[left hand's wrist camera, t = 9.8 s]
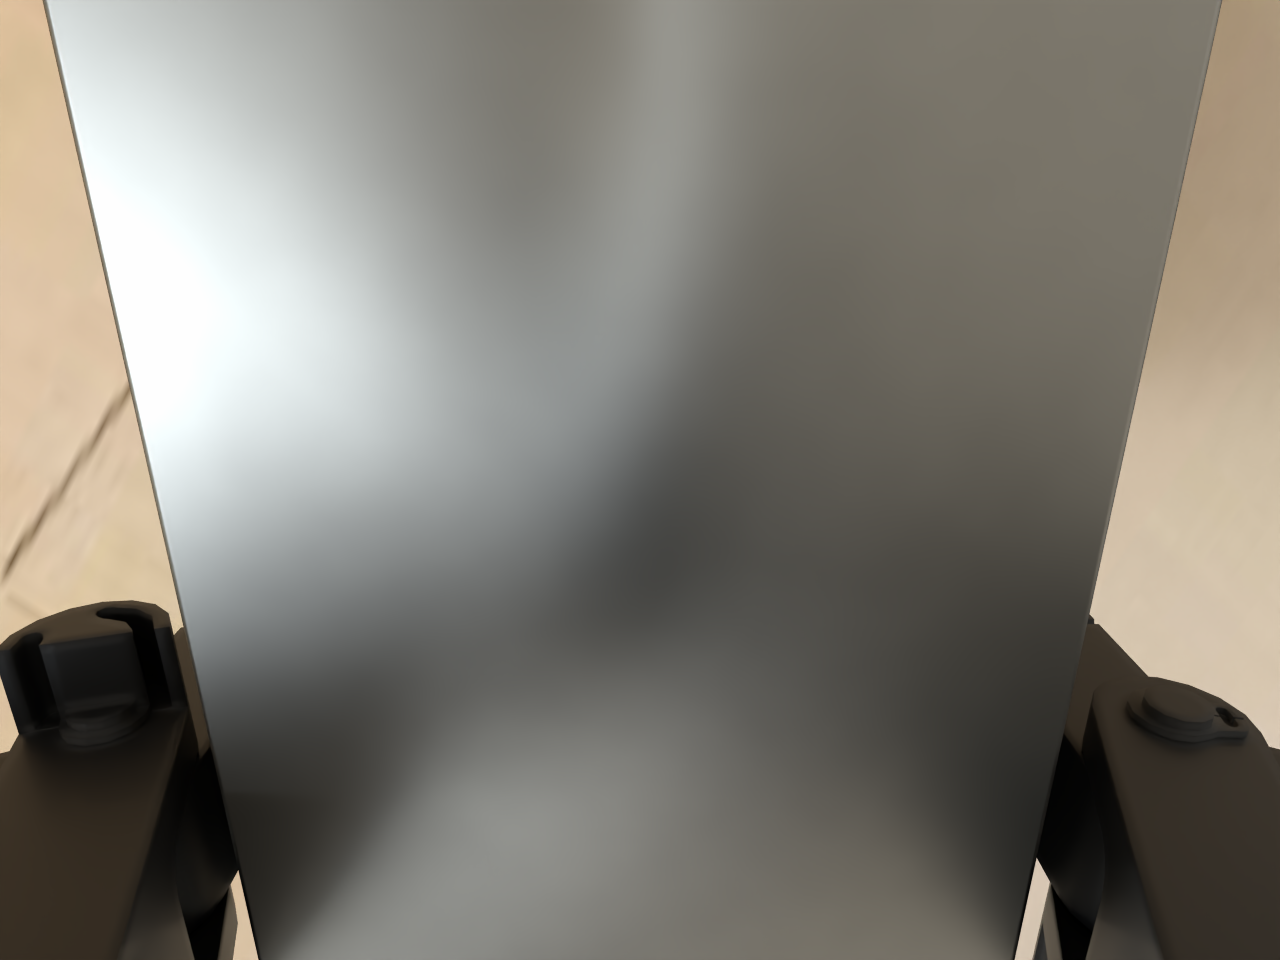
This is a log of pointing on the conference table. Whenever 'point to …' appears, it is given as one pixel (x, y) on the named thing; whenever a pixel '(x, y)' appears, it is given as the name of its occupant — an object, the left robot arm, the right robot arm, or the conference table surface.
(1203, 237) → the conference table surface
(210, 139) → the box
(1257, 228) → the conference table surface
